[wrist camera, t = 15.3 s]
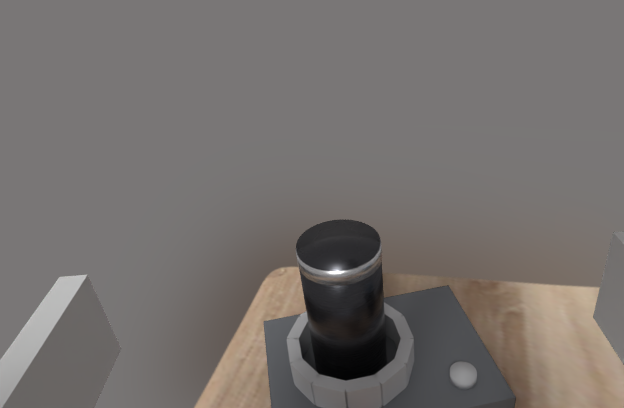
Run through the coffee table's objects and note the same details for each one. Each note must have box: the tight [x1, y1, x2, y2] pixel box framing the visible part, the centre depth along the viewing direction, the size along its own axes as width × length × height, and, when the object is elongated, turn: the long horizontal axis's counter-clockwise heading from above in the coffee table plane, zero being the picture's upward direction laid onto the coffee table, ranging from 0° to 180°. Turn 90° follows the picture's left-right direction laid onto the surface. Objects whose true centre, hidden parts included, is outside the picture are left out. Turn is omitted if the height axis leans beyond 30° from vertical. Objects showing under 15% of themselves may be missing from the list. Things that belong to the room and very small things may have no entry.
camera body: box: [264, 285, 516, 408], centre depth 42 cm, size 18×13×8 cm
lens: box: [296, 220, 387, 381], centre depth 38 cm, size 6×6×12 cm
